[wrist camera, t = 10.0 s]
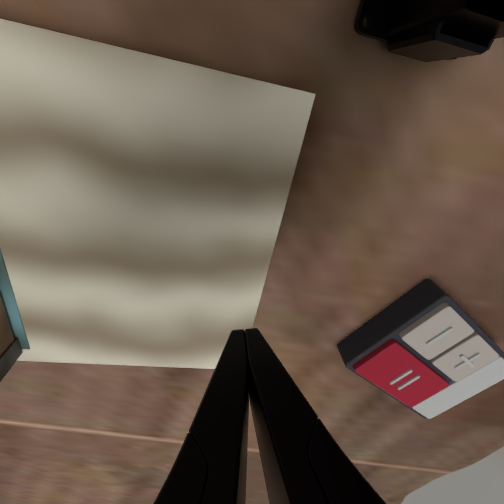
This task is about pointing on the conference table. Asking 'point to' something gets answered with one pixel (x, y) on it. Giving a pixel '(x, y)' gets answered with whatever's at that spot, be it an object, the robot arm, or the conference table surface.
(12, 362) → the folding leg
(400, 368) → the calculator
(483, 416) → the conference table surface
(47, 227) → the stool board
